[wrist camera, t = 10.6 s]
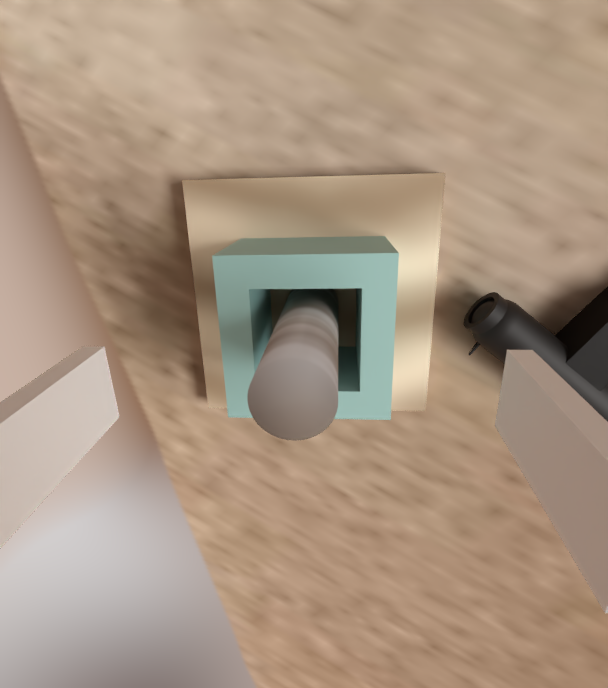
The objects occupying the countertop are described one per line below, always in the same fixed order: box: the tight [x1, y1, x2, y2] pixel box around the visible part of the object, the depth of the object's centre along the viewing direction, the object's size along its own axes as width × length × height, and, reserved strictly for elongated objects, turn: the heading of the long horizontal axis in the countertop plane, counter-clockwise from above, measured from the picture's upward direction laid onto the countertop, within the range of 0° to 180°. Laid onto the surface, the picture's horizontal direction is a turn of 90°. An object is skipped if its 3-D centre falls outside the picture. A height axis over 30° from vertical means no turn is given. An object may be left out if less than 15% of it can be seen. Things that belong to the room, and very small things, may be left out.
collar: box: [212, 236, 399, 420], centre depth 23 cm, size 8×8×6 cm
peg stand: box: [182, 173, 445, 440], centre depth 20 cm, size 14×14×13 cm
